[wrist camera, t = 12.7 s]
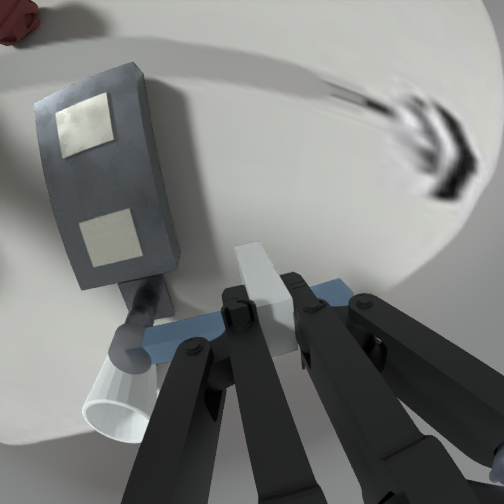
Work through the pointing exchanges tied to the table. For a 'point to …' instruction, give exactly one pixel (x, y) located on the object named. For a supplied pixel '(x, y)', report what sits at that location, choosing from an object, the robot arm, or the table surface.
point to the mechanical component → (17, 20)
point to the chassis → (106, 178)
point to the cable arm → (187, 333)
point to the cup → (121, 403)
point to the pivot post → (146, 300)
